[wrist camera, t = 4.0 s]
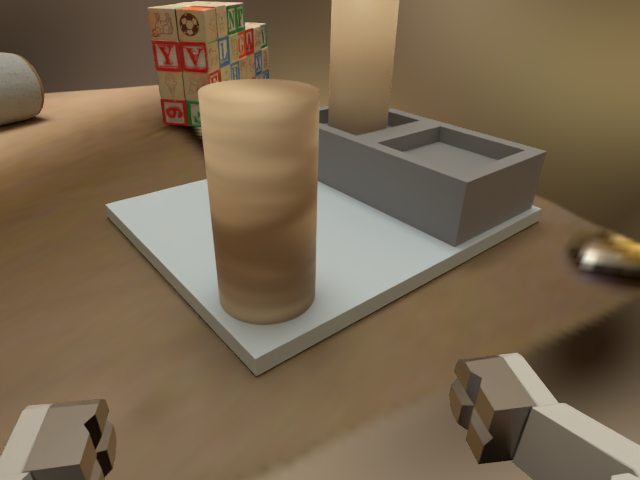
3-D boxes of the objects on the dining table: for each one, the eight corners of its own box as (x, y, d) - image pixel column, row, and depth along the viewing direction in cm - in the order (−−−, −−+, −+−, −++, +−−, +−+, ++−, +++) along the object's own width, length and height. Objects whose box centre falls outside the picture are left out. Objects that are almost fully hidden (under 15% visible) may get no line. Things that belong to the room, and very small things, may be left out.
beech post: (253, 339, 20) (238, 111, 16) (202, 288, 24) (176, 86, 19) (334, 298, 23) (344, 94, 18) (279, 258, 26) (274, 74, 21)
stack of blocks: (231, 88, 71) (224, -3, 65) (270, 90, 70) (267, -1, 64) (163, 125, 53) (145, 5, 47) (214, 129, 52) (203, 7, 46)
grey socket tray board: (256, 376, 20) (233, 15, 13) (108, 217, 32) (56, -10, 26) (537, 221, 33) (600, 3, 27) (356, 151, 46) (366, -9, 39)
